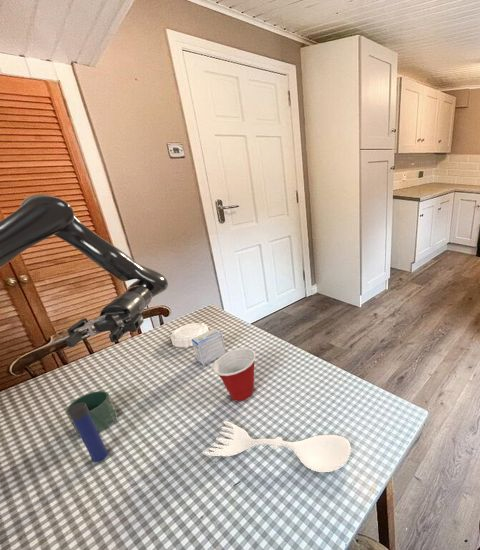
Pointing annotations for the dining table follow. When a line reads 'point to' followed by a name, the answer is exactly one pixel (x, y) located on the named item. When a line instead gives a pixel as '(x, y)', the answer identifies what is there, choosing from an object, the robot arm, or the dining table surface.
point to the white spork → (312, 452)
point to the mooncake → (187, 334)
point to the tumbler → (97, 409)
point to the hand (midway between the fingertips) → (90, 341)
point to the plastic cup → (237, 372)
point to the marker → (88, 431)
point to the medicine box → (208, 346)
